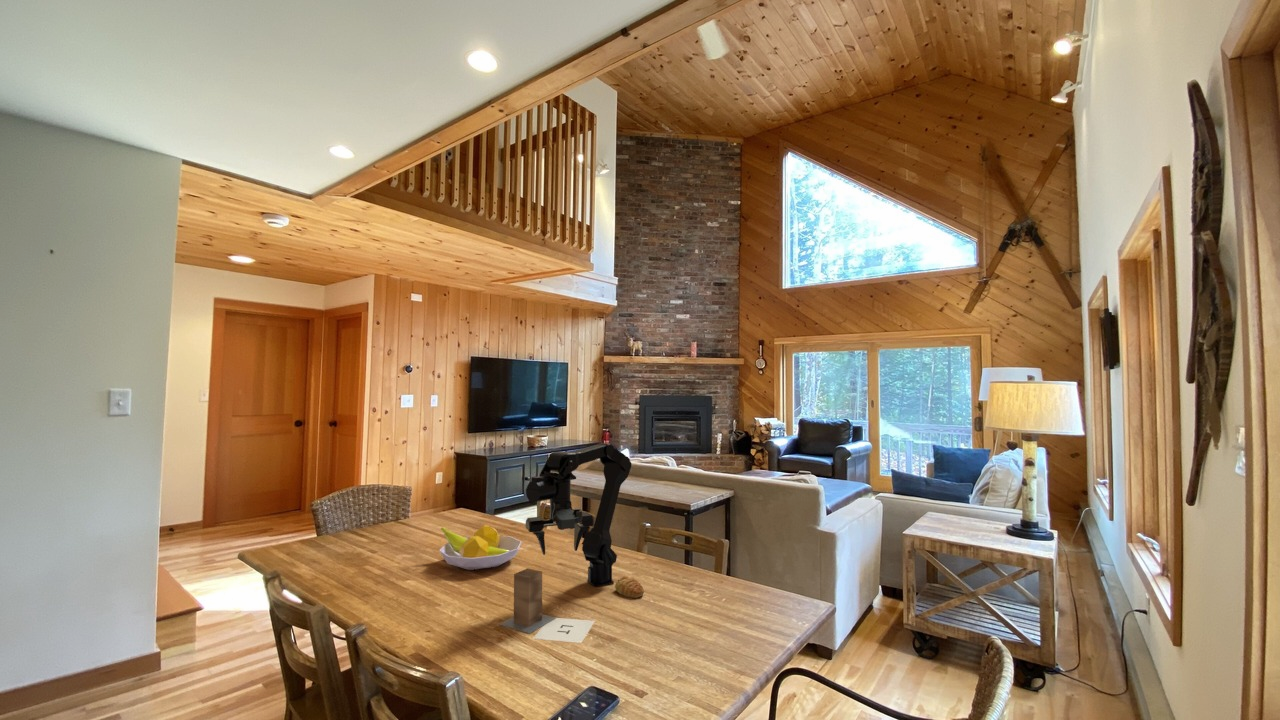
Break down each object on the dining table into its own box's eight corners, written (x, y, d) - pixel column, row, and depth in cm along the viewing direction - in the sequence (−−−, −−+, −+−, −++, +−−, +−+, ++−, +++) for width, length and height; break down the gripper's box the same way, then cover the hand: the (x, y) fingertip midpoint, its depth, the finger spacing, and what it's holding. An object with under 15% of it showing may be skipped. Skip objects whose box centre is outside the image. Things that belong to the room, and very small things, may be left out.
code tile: (550, 618, 141) (550, 617, 141) (595, 622, 139) (595, 620, 139) (532, 640, 129) (532, 638, 129) (581, 644, 127) (581, 642, 127)
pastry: (650, 595, 157) (650, 582, 157) (631, 601, 153) (631, 588, 153) (630, 586, 164) (630, 573, 164) (612, 591, 160) (612, 578, 160)
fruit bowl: (537, 558, 189) (537, 526, 190) (475, 582, 167) (476, 545, 167) (481, 546, 204) (482, 515, 205) (418, 566, 182) (419, 532, 182)
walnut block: (527, 615, 142) (527, 568, 142) (541, 619, 139) (542, 571, 140) (513, 622, 137) (514, 574, 138) (528, 626, 135) (529, 577, 135)
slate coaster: (526, 612, 145) (526, 609, 145) (555, 620, 140) (555, 617, 140) (499, 626, 136) (499, 624, 136) (529, 635, 131) (529, 633, 131)
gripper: (533, 505, 144) (533, 565, 143) (600, 499, 151) (600, 556, 151) (525, 497, 154) (524, 553, 153) (588, 492, 162) (588, 545, 161)
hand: (559, 552), depth 154 cm, fingers open, 9 cm apart
